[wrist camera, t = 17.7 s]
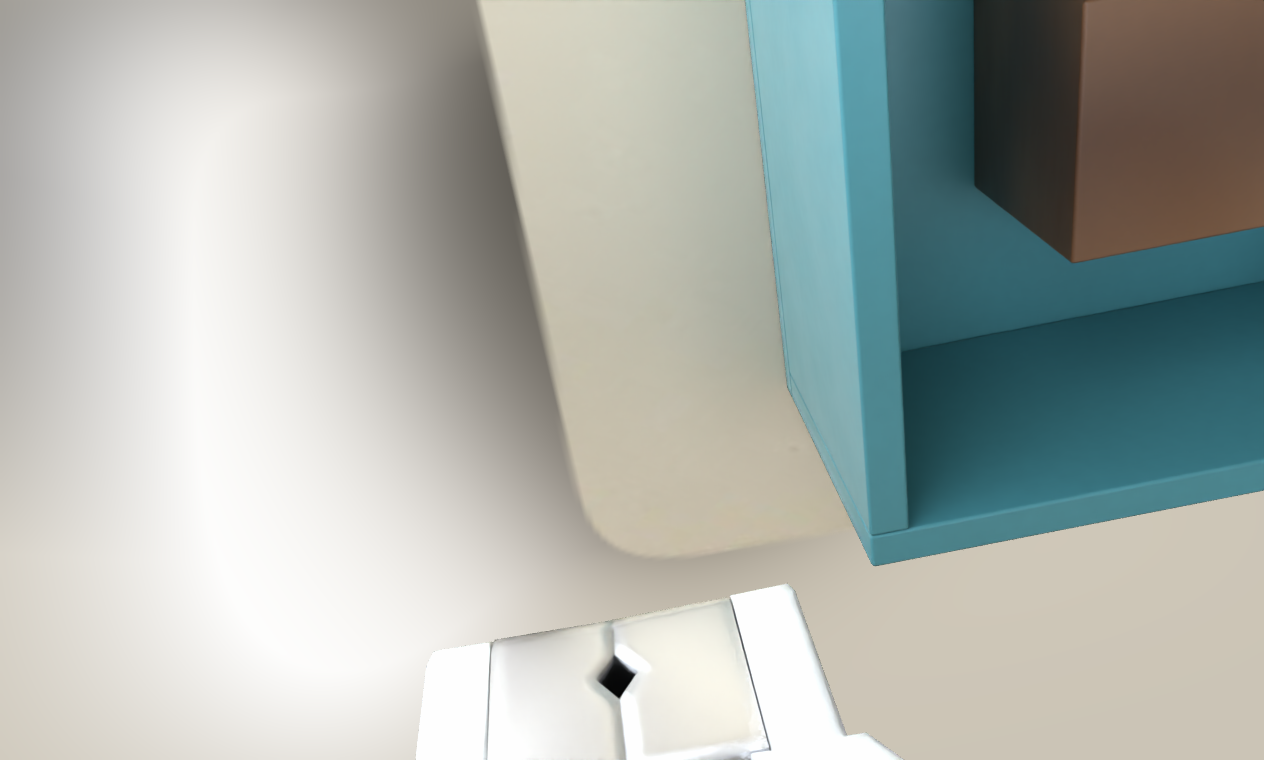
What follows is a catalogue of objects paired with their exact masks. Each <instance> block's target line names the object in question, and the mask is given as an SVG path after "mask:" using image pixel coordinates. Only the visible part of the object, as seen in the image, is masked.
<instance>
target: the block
mask: <svg viewBox="0 0 1264 760" xmlns="http://www.w3.org/2000/svg"><path fill="white" fill-rule="evenodd" d="M974 185H975V187H976V188H977V189H978V190H979V191H981V192H982V193H983V194H985V195H986V196H987V197H988V198H990V199H991V200H992V201H993V202H995V203H996V204H997V205H998V206H1000V207H1001V208H1002V209H1004V210H1005V211H1006V212H1007V213H1009V214H1010V215H1011V216H1012V217H1014V218H1015V219H1016V220H1018V221H1019V222H1020V223H1021V224H1023V225H1024V226H1025V227H1026V228H1028V229H1029V230H1030V231H1031V232H1033V233H1034V234H1035V235H1037V236H1038V237H1039V238H1040V239H1042V240H1043V241H1044V242H1045V243H1047V244H1048V245H1049V246H1051V247H1052V248H1053V249H1054V250H1056V251H1057V252H1058V253H1059V254H1061V255H1062V256H1063V257H1064V258H1066V259H1067V260H1068V261H1070V262H1071V263H1079V262H1084V261H1089V260H1095V259H1100V258H1105V257H1110V256H1115V255H1120V254H1126V253H1131V252H1136V251H1141V250H1146V249H1152V248H1157V247H1162V246H1167V245H1172V244H1177V243H1183V242H1188V241H1193V240H1198V239H1203V238H1209V237H1214V236H1219V235H1224V234H1229V233H1234V232H1240V231H1245V230H1250V229H1255V228H1260V227H1264V0H974Z"/></svg>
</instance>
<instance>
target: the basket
mask: <svg viewBox="0 0 1264 760" xmlns="http://www.w3.org/2000/svg"><path fill="white" fill-rule="evenodd" d="M745 3H746V13H747V22H748V31H749V40H750V49H751V58H752V68H753V77H754V86H755V95H756V104H757V113H758V123H759V132H760V141H761V150H762V159H763V168H764V178H765V187H766V196H767V205H768V214H769V223H770V233H771V242H772V251H773V260H774V269H775V278H776V287H777V297H778V306H779V315H780V324H781V333H782V342H783V352H784V361H785V370H786V379H787V388H788V390H789V392H790V394H791V396H792V397H793V400H794V402H795V404H796V406H797V408H798V410H799V412H800V415H801V417H802V419H803V421H804V423H805V425H806V427H807V429H808V431H809V433H810V436H811V438H812V440H813V442H814V444H815V446H816V448H817V450H818V452H819V454H820V457H821V459H822V461H823V463H824V465H825V467H826V469H827V471H828V473H829V476H830V478H831V480H832V482H833V484H834V486H835V488H836V490H837V492H838V494H839V497H840V499H841V501H842V503H843V505H844V507H845V509H846V511H847V513H848V515H849V518H850V520H851V522H852V524H853V526H854V528H855V530H856V532H857V534H858V536H859V539H860V541H861V543H862V545H863V547H864V549H865V551H866V553H867V555H868V558H869V560H870V562H871V564H872V565H873V566H879V565H884V564H890V563H895V562H900V561H905V560H910V559H915V558H920V557H925V556H930V555H936V554H940V553H946V552H951V551H956V550H961V549H966V548H971V547H977V546H982V545H987V544H992V543H997V542H1002V541H1007V540H1013V539H1017V538H1023V537H1028V536H1033V535H1038V534H1043V533H1048V532H1054V531H1058V530H1064V529H1069V528H1074V527H1079V526H1084V525H1089V524H1094V523H1099V522H1105V521H1110V520H1114V519H1120V518H1125V517H1130V516H1135V515H1140V514H1146V513H1151V512H1156V511H1161V510H1166V509H1171V508H1176V507H1181V506H1186V505H1192V504H1197V503H1202V502H1207V501H1212V500H1217V499H1222V498H1228V497H1232V496H1238V495H1243V494H1248V493H1253V492H1258V491H1263V490H1264V227H1260V228H1255V229H1250V230H1245V231H1240V232H1234V233H1229V234H1224V235H1219V236H1214V237H1209V238H1203V239H1198V240H1193V241H1188V242H1183V243H1177V244H1172V245H1167V246H1162V247H1157V248H1152V249H1146V250H1141V251H1136V252H1131V253H1126V254H1120V255H1115V256H1110V257H1105V258H1100V259H1095V260H1089V261H1084V262H1079V263H1071V262H1070V261H1068V260H1067V259H1066V258H1064V257H1063V256H1062V255H1061V254H1059V253H1058V252H1057V251H1056V250H1054V249H1053V248H1052V247H1051V246H1049V245H1048V244H1047V243H1045V242H1044V241H1043V240H1042V239H1040V238H1039V237H1038V236H1037V235H1035V234H1034V233H1033V232H1031V231H1030V230H1029V229H1028V228H1026V227H1025V226H1024V225H1023V224H1021V223H1020V222H1019V221H1018V220H1016V219H1015V218H1014V217H1012V216H1011V215H1010V214H1009V213H1007V212H1006V211H1005V210H1004V209H1002V208H1001V207H1000V206H998V205H997V204H996V203H995V202H993V201H992V200H991V199H990V198H988V197H987V196H986V195H985V194H983V193H982V192H981V191H979V190H978V189H977V188H976V187H975V185H974V0H745Z"/></svg>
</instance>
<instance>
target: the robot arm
mask: <svg viewBox="0 0 1264 760" xmlns="http://www.w3.org/2000/svg"><path fill="white" fill-rule="evenodd" d="M426 668H427V669H426V677H425V685H424V693H423V702H422V711H421V719H420V728H419V737H418V745H417V754H416V760H904V759H903V758H901V757H900V756H898V755H897V754H896V753H894V752H893V751H891V750H890V749H888V748H887V747H886V746H884V745H883V744H881V743H880V742H879V741H877V740H876V739H875V738H873V737H872V736H870V735H869V734H868V733H861V734H855V735H849V736H847V734H846V732H845V729H844V726H843V724H842V721H841V718H840V715H839V712H838V709H837V707H836V704H835V701H834V698H833V695H832V693H831V690H830V687H829V684H828V681H827V679H826V676H825V673H824V670H823V668H822V665H821V662H820V659H819V656H818V654H817V651H816V648H815V646H814V642H813V640H812V637H811V634H810V631H809V629H808V626H807V623H806V621H805V617H804V615H803V612H802V609H801V606H800V604H799V601H798V598H797V595H796V593H795V590H794V589H793V588H792V587H791V586H790V585H789V584H783V585H778V586H774V587H768V588H764V589H759V590H754V591H749V592H745V593H740V594H735V595H731V596H730V600H729V599H728V598H727V597H725V598H720V599H716V600H710V601H705V602H700V603H695V604H690V605H685V606H680V607H675V608H671V609H665V610H660V611H655V612H650V613H645V614H640V615H635V616H630V617H625V618H620V619H615V620H611V621H605V622H599V623H593V624H587V625H581V626H575V627H569V628H563V629H557V630H551V631H545V632H539V633H533V634H527V635H521V636H515V637H509V638H503V639H497V640H495V641H494V642H487V643H481V644H475V645H469V646H463V647H457V648H451V649H445V650H438V651H434V653H433V654H432V657H431V658H430V660H429V663H428V665H427V667H426Z"/></svg>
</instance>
